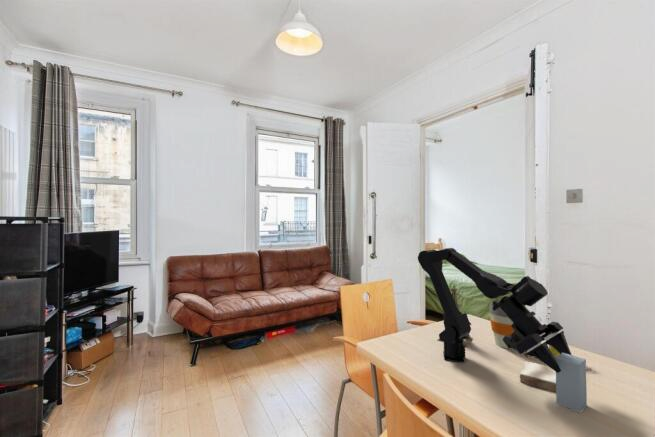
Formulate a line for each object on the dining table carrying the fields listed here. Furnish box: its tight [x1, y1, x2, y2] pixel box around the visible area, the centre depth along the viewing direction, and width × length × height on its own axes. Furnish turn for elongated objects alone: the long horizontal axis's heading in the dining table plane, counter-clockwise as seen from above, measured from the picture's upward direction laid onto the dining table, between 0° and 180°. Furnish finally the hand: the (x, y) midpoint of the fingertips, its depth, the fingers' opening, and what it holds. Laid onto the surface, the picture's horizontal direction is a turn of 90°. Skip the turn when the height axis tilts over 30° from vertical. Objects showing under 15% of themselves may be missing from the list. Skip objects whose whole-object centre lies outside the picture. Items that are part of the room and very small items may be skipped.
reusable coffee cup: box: [488, 301, 514, 350], centre depth 117 cm, size 13×12×15 cm
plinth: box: [519, 360, 556, 392], centre depth 91 cm, size 10×10×2 cm
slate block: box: [555, 353, 588, 414], centre depth 80 cm, size 5×5×12 cm
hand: (566, 366), depth 80 cm, fingers open, 9 cm apart
